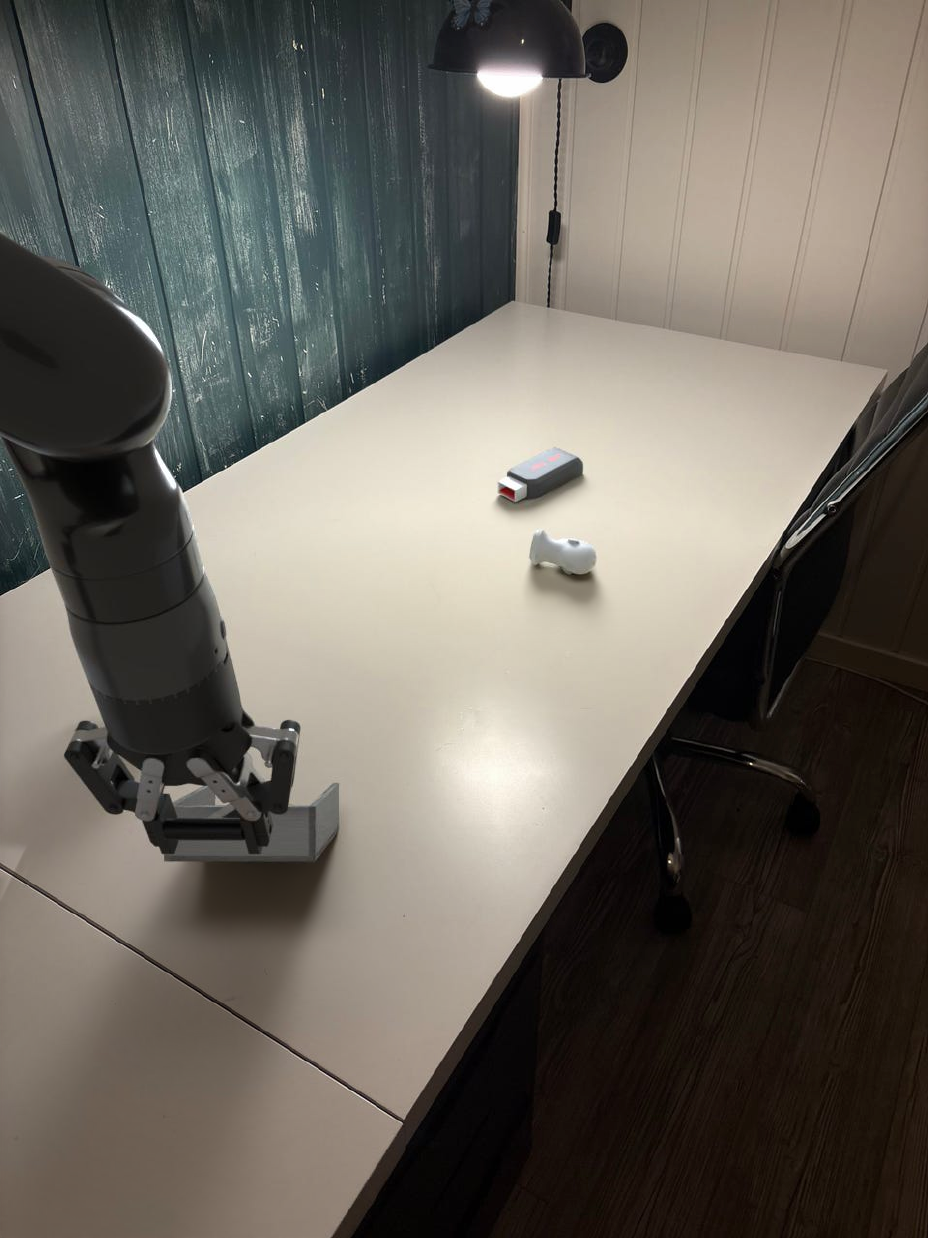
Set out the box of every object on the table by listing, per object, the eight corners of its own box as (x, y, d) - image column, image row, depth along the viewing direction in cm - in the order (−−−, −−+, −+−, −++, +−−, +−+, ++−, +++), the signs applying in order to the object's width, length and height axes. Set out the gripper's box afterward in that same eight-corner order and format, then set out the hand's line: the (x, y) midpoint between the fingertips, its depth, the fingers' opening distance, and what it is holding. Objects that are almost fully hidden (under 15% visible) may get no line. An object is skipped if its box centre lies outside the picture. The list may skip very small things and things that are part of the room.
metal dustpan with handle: (115, 895, 58) (115, 820, 58) (209, 830, 77) (209, 774, 78) (289, 895, 57) (289, 820, 58) (339, 830, 77) (339, 774, 77)
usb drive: (582, 473, 123) (584, 455, 122) (521, 506, 117) (521, 487, 115) (554, 460, 126) (555, 442, 125) (492, 491, 120) (492, 473, 118)
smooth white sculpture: (599, 574, 107) (583, 585, 103) (538, 554, 110) (520, 564, 106) (607, 540, 105) (591, 549, 101) (545, 520, 108) (527, 529, 104)
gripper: (-4, 697, 47) (89, 892, 58) (274, 695, 47) (315, 892, 57) (50, 606, 53) (125, 799, 64) (297, 604, 52) (331, 799, 63)
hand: (215, 842), depth 60 cm, fingers closed on metal dustpan with handle, 5 cm apart
